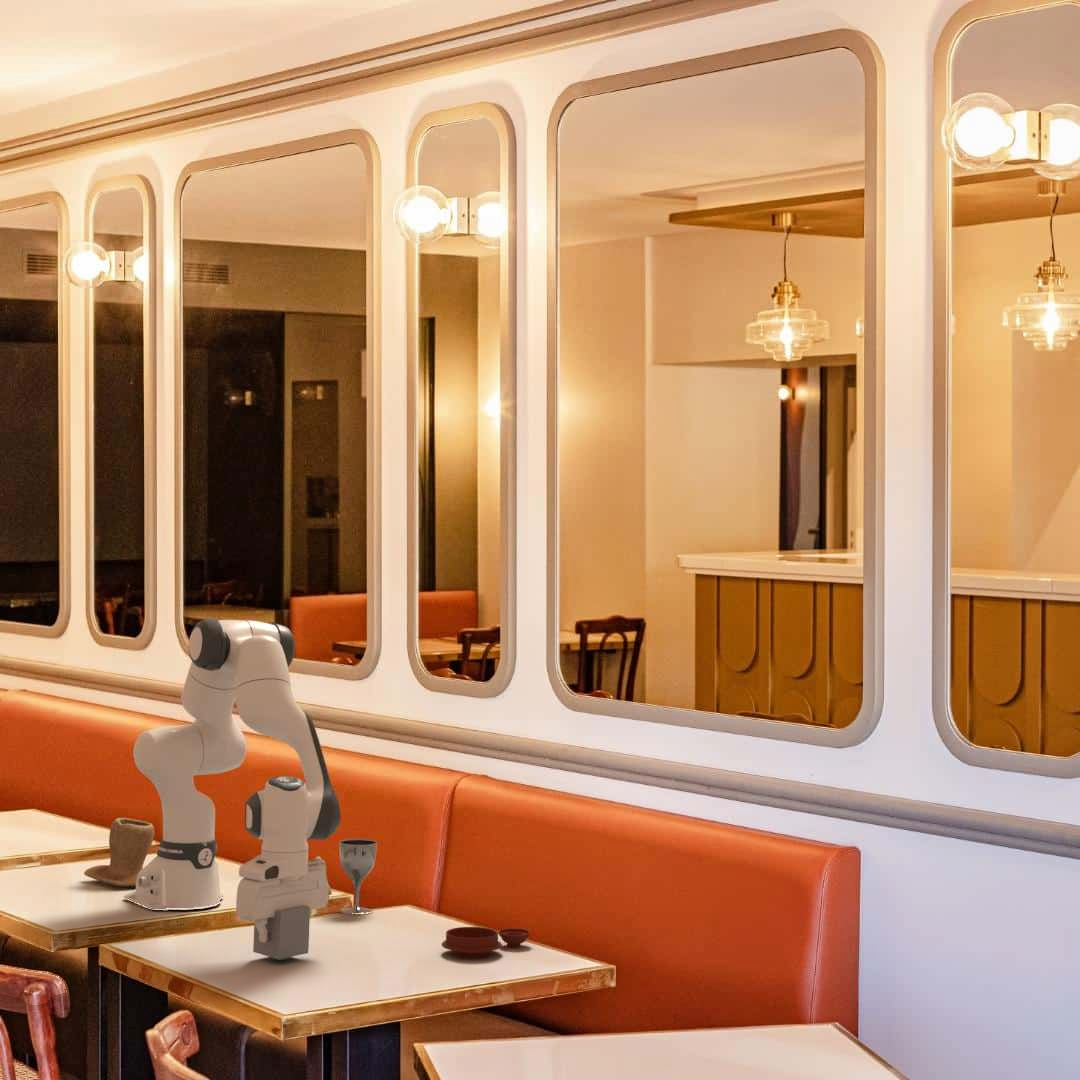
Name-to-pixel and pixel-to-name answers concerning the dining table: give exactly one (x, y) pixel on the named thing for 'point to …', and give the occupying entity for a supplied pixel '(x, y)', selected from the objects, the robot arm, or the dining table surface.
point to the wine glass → (357, 866)
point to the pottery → (481, 940)
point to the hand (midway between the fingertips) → (282, 937)
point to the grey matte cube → (285, 933)
